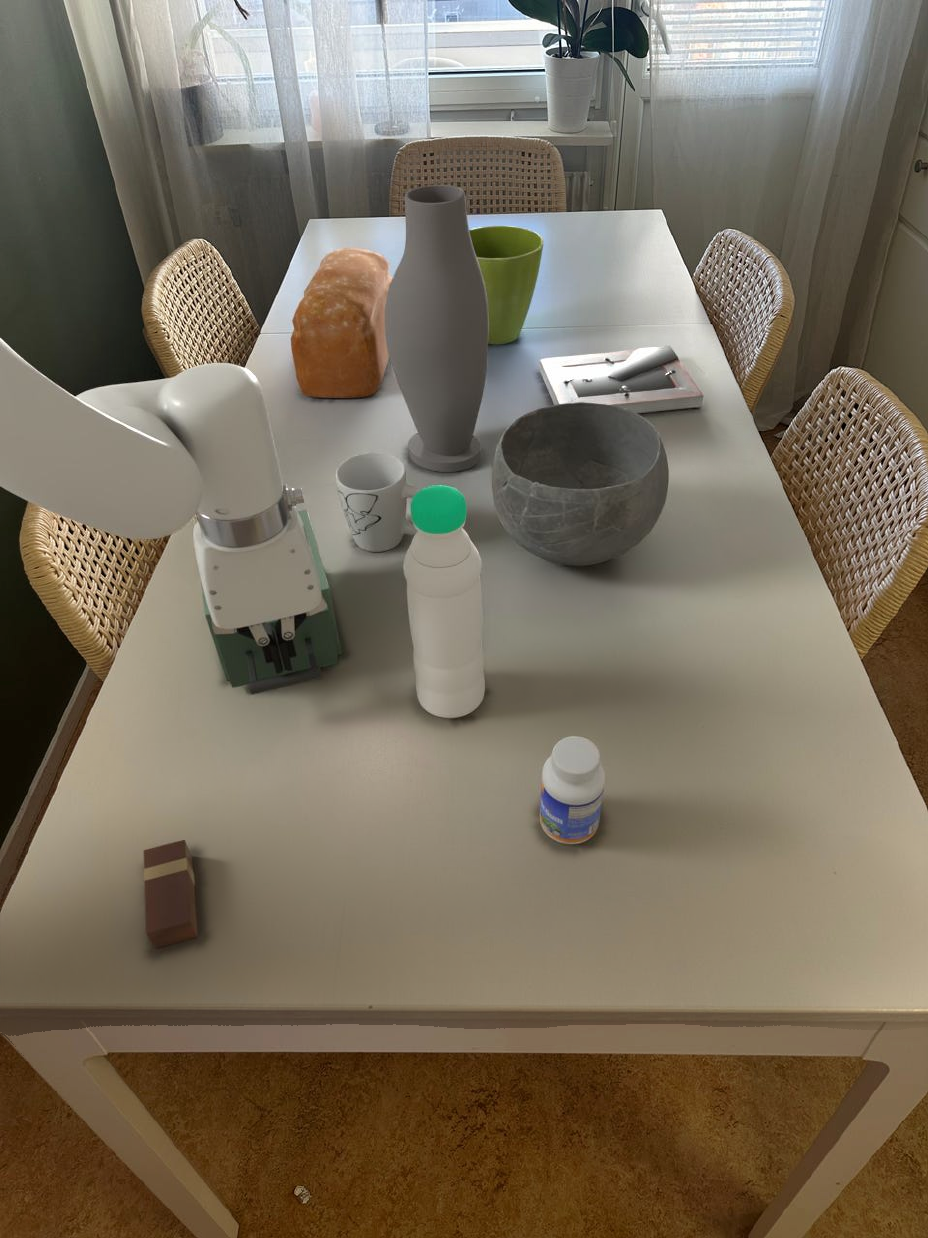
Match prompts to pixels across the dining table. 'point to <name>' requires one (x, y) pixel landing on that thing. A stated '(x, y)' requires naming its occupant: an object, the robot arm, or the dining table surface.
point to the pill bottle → (572, 791)
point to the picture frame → (623, 380)
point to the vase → (439, 329)
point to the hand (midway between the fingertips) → (282, 662)
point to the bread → (342, 326)
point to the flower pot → (507, 276)
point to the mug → (375, 499)
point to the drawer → (250, 662)
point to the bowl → (579, 481)
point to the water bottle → (445, 604)
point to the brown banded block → (169, 894)
